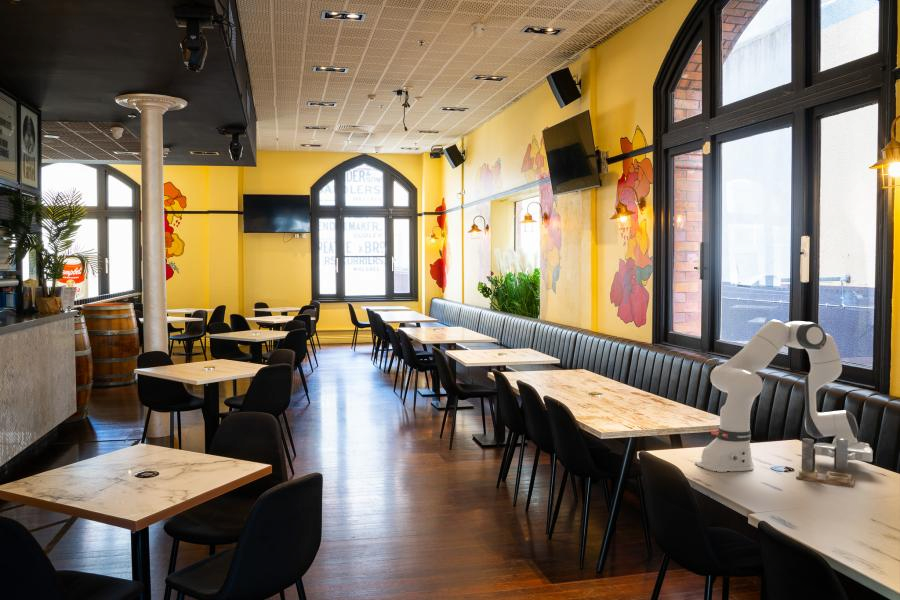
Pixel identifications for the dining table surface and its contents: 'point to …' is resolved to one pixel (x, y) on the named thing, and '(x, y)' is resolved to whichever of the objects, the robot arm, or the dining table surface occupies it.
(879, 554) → the dining table surface
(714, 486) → the dining table surface
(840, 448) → the grey tall block
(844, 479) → the twin post stand
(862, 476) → the dining table surface
